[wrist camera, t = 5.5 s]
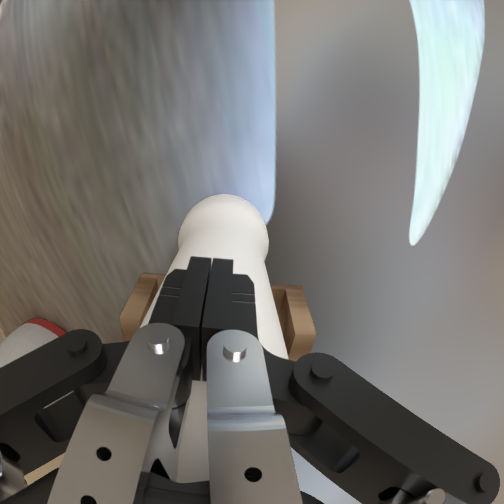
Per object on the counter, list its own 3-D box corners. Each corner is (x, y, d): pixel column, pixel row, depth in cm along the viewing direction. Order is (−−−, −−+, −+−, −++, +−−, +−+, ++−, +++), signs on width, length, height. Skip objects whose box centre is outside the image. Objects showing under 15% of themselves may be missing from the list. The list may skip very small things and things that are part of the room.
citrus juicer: (70, 383, 42) (39, 466, 24) (8, 319, 34) (-43, 401, 16) (120, 372, 39) (89, 481, 21) (46, 293, 31) (-24, 402, 14)
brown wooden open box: (141, 272, 30) (119, 318, 23) (301, 285, 31) (316, 334, 25) (167, 413, 45) (162, 448, 38) (262, 420, 46) (265, 455, 40)
